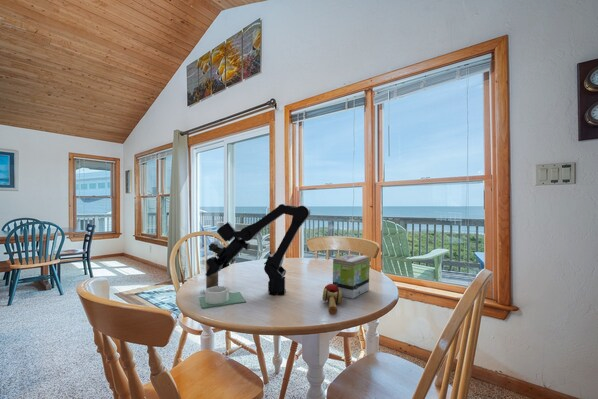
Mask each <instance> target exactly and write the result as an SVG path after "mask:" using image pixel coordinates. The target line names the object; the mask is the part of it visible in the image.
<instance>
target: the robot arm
mask: <svg viewBox="0 0 598 399" xmlns="http://www.w3.org/2000/svg"><path fill="white" fill-rule="evenodd" d="M283 215H288V216H292V219H291V222H290V225H289V227H288V229H287V231H286V233H285V235H284V236H283V238H282V240H281V242H279V246H278V247H277V249H276V250H275V252H274V253H273V252H272V253H270V254H268V256H267V259H266V261H265V262H264V263H263V264H264V266H263V270H264V272H265V274H266V275H267V277H268V278H269V280H268V281H267V282H268V283H267V284H268V286H267V289H268V290H267V291H268V295H271V296H273V295H277V296H278V295H280V296H283V295H285V294H286V291H287V289H286V276H285V275H286V273H287V270H286V269H285V268H284V267H283V266H282V265H283V262H284V259H285V255H286V254H287V252H288V250H289V248H290V246H291V245H292V242H293V241H294V239H295V238H296V235H297V233H299V232H298V231H299V230H300V228H301V226H302V225H304V223H305V222H306V221H307V220H308V219H309V217H310V216H311V209H310V208H309V206H307V205H299V206H295V205H291V204H290V205H289V204H285V203H282V204H281V203H280V204H278V206H277V207H276V208H274V209H273V210H272V211H270V212H269V213H267V214H266V215H264V216H263V217H262V218H260V219H259V220H258V221H256V222H254V223H251V224H249V225H247V226H245V227H243V228H242V229H236V228H235V227H234V226H233V225H232V223H231V222H230V221H227V222H225V224H223V225H221V226H220V227H218V229H217V230H216V233H217V234H218V236H220V237H221V239H222V240H223V241H224V242H229V243H228V245H226V246H225V245H224V244H222V243H219V241H212V242H210V244H209V245H208V251H210V252H213V253H215V256H211V257H209V258H207V259H208V260H207V259H206V260H207V261H205V263H207V264H208V265H209V269H208V271H207V273H205V277H206V276H209V275H212V274H214V273H216V272H218V273H219V272H220V271H222V270H223V269H226V268H228V267H229V266H230V265H233V264H234V263H235V262H236V260H237V256H238V255H239V253H241V251H242V250H243V249H245V250H246V251H248V250H250V249H251V248H250V244H251V243H250V242H249V241H252V240H254V239H255V238H256V237H257V236H258V235H259V234H260V233H261V232H262V231H263V230H264V228H266V227H268V226H269V225H270V224H272V223H273V222H275V221H276V220H277V219H278V218H280V217H281V216H283Z"/></svg>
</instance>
